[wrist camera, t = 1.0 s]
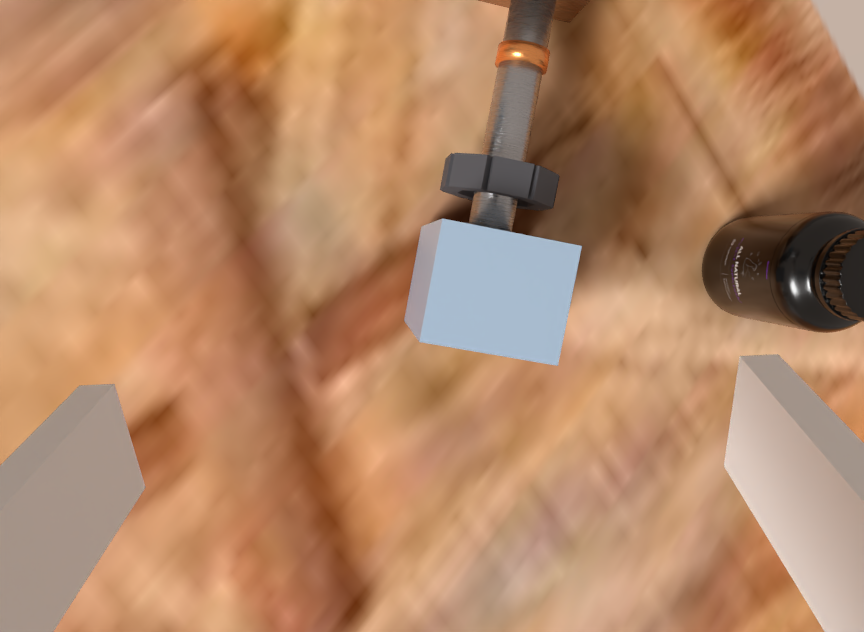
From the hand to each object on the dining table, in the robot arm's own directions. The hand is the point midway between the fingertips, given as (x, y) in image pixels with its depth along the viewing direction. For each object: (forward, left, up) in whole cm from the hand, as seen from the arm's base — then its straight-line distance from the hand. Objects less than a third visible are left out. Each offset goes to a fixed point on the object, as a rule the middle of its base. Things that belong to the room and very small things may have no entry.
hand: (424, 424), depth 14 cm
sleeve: (+1, +6, -28) cm, 28 cm away
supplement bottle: (+9, +23, -29) cm, 38 cm away
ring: (-4, +9, -27) cm, 29 cm away
